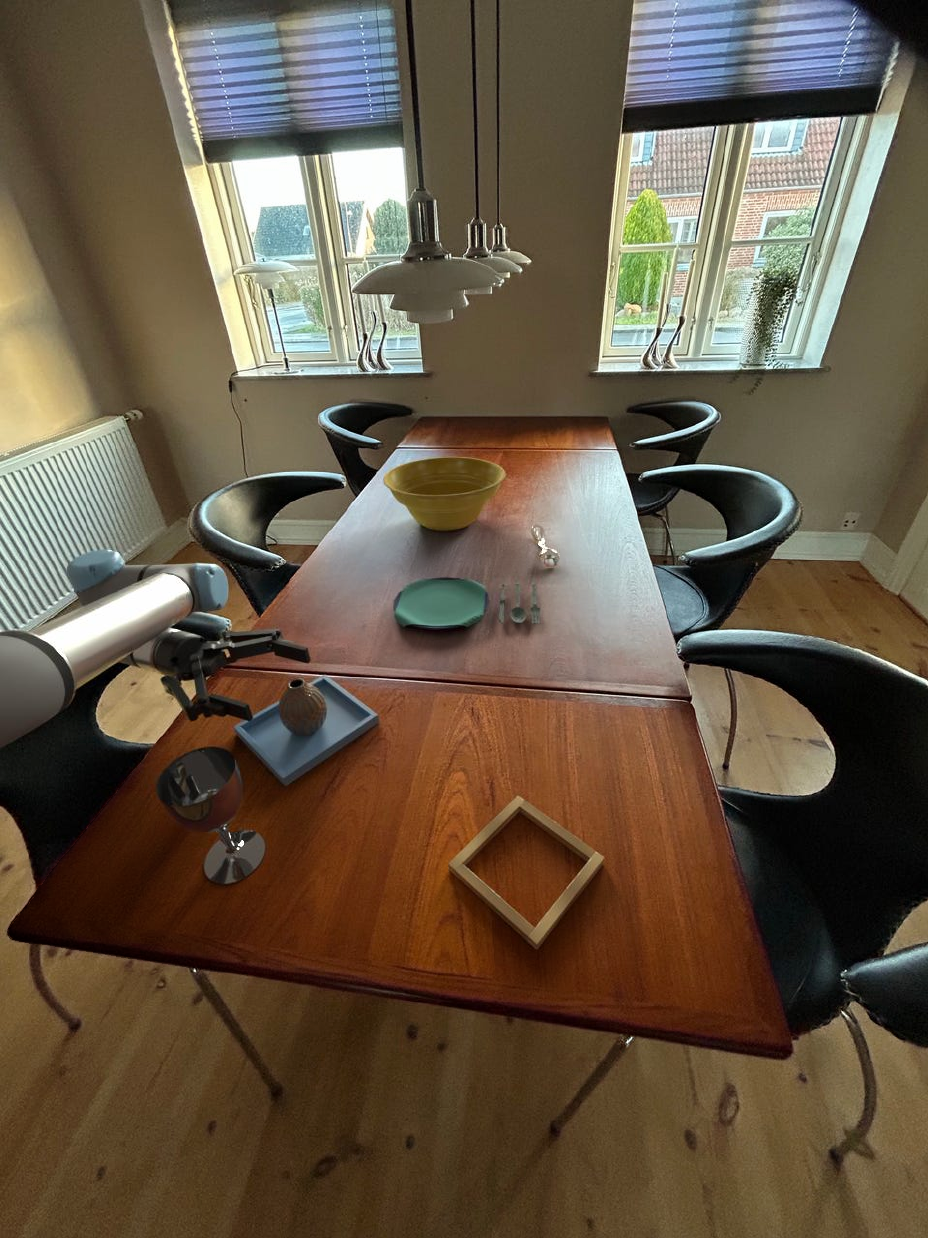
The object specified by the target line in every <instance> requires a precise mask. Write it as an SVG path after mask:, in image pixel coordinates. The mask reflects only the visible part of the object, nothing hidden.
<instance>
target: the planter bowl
mask: <svg viewBox="0 0 928 1238" xmlns="http://www.w3.org/2000/svg"><path fill="white" fill-rule="evenodd" d="M505 478H506V470H505V469H504V468H503V467H502V466H500V465H499V464H496V463H495V462H491V461H489V460H486V459H485V460H484V459H480V458H475V457H464V456H440V457H430V458H424V459H423V458H422V459H417V460H413V461H409V462H406V463H403V464H399V465H398V466H395V467H393V468H391V469H390V470H388V471H387V472H386V473H385V474H384V475H383V478H382V482H383V485H385V487H387V489H389V490H390V492H391V494H392V496H393V497H394V499H395V500H396V501H397V502H398V503H400V504H402V505H403V506H405V507H406V509H407V511H408V512H409V513H410V515H411V516H412V517H413V519H414V520H415V522H416V523H418V524H419V525H421V526H423V527H424V528H426V529H428V530H433V531H439V532H449V531H450V532H451V531H456V530H460V529H464V528H466V527H468V526H469V525H471V524H473V523H474V522H476V520H477V519H478V518H479V516H480V515H481V513H482V512H483V510H484V508H485V505H486V504H487V502H488V501H489V500H491V499H492V498H493V497H495V495H496V494H497V492H498V489H499V488H500V485H501V483H502V482H503V481H504V480H505Z"/></svg>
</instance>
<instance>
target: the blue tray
mask: <svg viewBox="0 0 928 1238" xmlns="http://www.w3.org/2000/svg"><path fill="white" fill-rule="evenodd" d="M308 684H311V685H313V686H315V687H316V688H317V689H318V690H319V691H320V692H321V693H322V695H323V696H324V698H325V701H326V705H327V715H326V719H325V722H324V724H323V725H322V727H321V728H320V729H319V730H317V731H316V732H314V733H313V734H310V735H296V734H294V733H291V732H290V731H289V730H288V729H287V728H286V727H285V726H284V725H283V723H282V721H281V718H280V715H279V702H280V699H279V700H278V701H276V702H274V703H273V704H271V705H268V706H266V707H265V708H264V709H262V710H260V711H258V712H257V713H255V714H252V716H253V719H252V720H251V721H250V722H249V721H246V720H242V721H240V722H239V723H237V724H236V725H234V726H233V727H232V728H233V730H234V733H235V735H236V736H237V737H238V738H239V739H240V740H241V742H242V743H243V744H245V745H246V747H247V748H248V749H249V750H250V751H251V752H252V753H253V754H254V755H255V756H256V757H257V758H258V759H259V760H260V762H262V764H263V765H264V766H265V767H266V768H267V769H268V770H269V771H270V772H271V773H272V774H273V775H274V776H275V777H276V778H277V779H278V780H279V781H280V782H281V784H282V785H283V786H284V787H287V786H289V785H290V784H292V783H293V782H294V781H296V780H297V779H299V778H300V777H302V776H303V775H304V774H306V773H307V772H309V771H310V770H313V768H315V767H316V766H318V765H319V764H321V763H322V762H324V761H325V760H326V759H328V758H330V757H331V756H332V755H335V753H337V752H338V751H340V750H341V749H343V748H344V747H345V746H347V745H349V744H350V743H351V742H353V741H354V740H356V739H357V738H359V737H360V736H362V735H363V734H365V733H366V732H368V731H370V730H371V729H372V728H373V727H375V726H377V725H378V724H379V723H380V718H379V714H378V713H376V711H374V710H372V709H371V708H370V707H368V706H367V705H366V704H365V703H363V702H362V701H361V700H359V699H358V698H357V697H356V696H354V695H353V694H351V693H350V692H349V691H347V690H346V689H345V688H343V687H342V686H341V685H340V684H338V683H337V682H335V681H334V680H333V679H332V678H330V677H329V676H327V675H326V674H323V675H321V676H319V677H318V678H316V679H314V680H313V681H311V682H309V683H308Z"/></svg>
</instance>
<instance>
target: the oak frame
mask: <svg viewBox="0 0 928 1238" xmlns="http://www.w3.org/2000/svg"><path fill="white" fill-rule="evenodd" d="M519 813H520V814H521V815H523V816H524V817H525V818H526V819H528V820H530V821H531V822H532V823H533V824H535V825H536V826H537V827H539V828H540V829H541V830H543V831H544V832H546V833H547V834H548V835H549V836H551V837H552V838H553V839H554V840H556V841H558V842H559V843H560V844H562V845H563V846H564V847H566V848H567V849H569V850H570V851H571V852H572V853H574V854H575V855H576V856H578V857H579V858H581V859H582V860H584V861H585V862H586V864H585V865H584V866H583V867H582V868H581V869H580V871H579V872H578V873H577V874H576V876H575V877H574V878H573V880H572V881H570V883H569V885H567V887H566V889H564V891H563V892H562V893H561V895H560V896H559V897H558V899H556V901H555V902H554V904H553V905H552V906H551V907H550V909H548V911H547V912H546V913H545V914H544V916H543V917H542V918H541V919H540V921H539V922H538V924H537V925H536V926H533V925H532V924H531V923H530V922H529V921H528V920H527V919H525V918H524V917H523V916H522V915H521V914H520V913H519V912H518V911H517V910H515V909H514V908H513V907H512V906H511V905H509V903H507V902H506V901H505V900H504V899H503V897H502V898H501V896H500V895H498V893H496V892H495V891H494V890H493V889H492V888H491V887H489V886H488V885H487V884H486V883H485V882H484V881H483V880H482V879H480V878H479V876H477V875H476V874H475V873H474V872H472V871H471V870H470V869H469V868H468V867H467V866H468V864H469V863H470V862H471V861H472V860H473V859H474V858H475V857H476V856H477V855H478V854H479V853H480V852H481V851H482V850H483V849H484V848H485V847H486V846H487V845H488V844H489V843H490V842H491V841H492V840H493V839H494V838H495V837H496V836H497V835H498V834H499V833H500V832H501V831H502V830H503V829H504V828H505V827H506V826H507V825H508V824H509V823H510V822H511V820H513V819H514V818H515V817H516V816H517V815H518V814H519ZM604 863H605V856H603V855H602V854H600V853H599V852H597V851H596V850H595V849H593V848H592V847H590V846H589V845H587V844H586V843H585V842H583V841H582V840H581V839H579V838H578V837H576V835H574V834H572V833H571V832H570V831H568V830H567V829H566V828H564V827H563V826H561V825H560V824H559V823H558V822H556V821H554V820H553V819H551V817H549V816H547V815H546V814H545V813H543V812H541V810H539V809H537V808H536V807H535V806H534V805H532V804H531V803H529V802H528V801H527V800H525V799H524V798H522V797H521V796H520V795H517V796H516V797H515V798H514V799H512V801H511V802H510V803H509V804H508V805H506V806H505V808H503V810H501V812H499V814H498V815H496V816H495V817H494V819H492V820H491V821H490V822H489V823H488V824H487V825H486V826H485V827H484V828H483V829H482V830H481V831H480V832H479V833H478V834H477V835H476V836H475V837H474V838H473V839H472V840H471V841H470V842H469V843H468V844H467V845H466V846H465V847H464V848H463V849H462V850H460V852H458V854H457V855H455V857H454V858H452V859H451V861H450V862H448V863H447V869H448V871H449V872H450V873H452V874H453V875H454V876H455V877H456V878H457V879H458V880H459V881H460V882H461V883H463V884H464V885H465V886H466V887H467V888H468V889H469V890H470V891H471V892H472V893H473V894H475V895H476V896H477V897H478V898H479V899H480V900H481V901H482V902H483V903H484V904H486V905H487V906H488V907H489V908H490V909H491V910H492V911H493V912H494V913H495V914H496V915H497V916H498V917H499V918H501V920H503V921H504V922H505V923H506V924H508V926H510V927H511V928H512V929H513V930H514V932H516V933H517V934H518V935H519V936H520V937H522V938H523V939H524V940H525V941H526V942H527V943H528V944H529V945H530V946H531V947H532V948H534V949H535V950H538V949H539V948H540V947H541V945H542V944H543V943H544V942H545V940H546V939H547V937H548V936H549V935H550V934H551V932H552V931H553V930H554V929H555V928H556V926H557V925H558V924H559V922H560V921H561V920H562V918H563V917H564V916H565V914H566V913H567V912H568V910H569V909H570V908H571V907H572V905H573V904H574V903H575V901H576V900H577V899H578V897H579V896H580V895H581V894H582V892H583V891H584V890H585V888H586V887H587V886H588V885H589V884H590V882H591V881H592V879H593V878H594V877H595V876H596V874H597V873H598V872H599V870H600V869H601V868H602V867H603V865H604Z"/></svg>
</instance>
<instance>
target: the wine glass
mask: <svg viewBox="0 0 928 1238" xmlns="http://www.w3.org/2000/svg"><path fill="white" fill-rule="evenodd" d="M241 774H242V773H241V772H240V768H239V766H238V763H237V760H236V759H235V757H234V755H233V753H232V752H231V751H230V750H228V749H226V748H224V747H220V746H204V747H200V748H196V749H193V750H190V751H187V752H186V753H183V754H181V755H180V756H178V757H177V758H175V759H174V760H173V761H171V762H170V763H169V764H168V765H167V766H165V768H164V769H163V770H162V772H161V774H160V775H159V777H158V779H157V781H156V785H155V793H156V796H157V798H158V800H159V802H160V804H161V805H162V807H163V808H164V810H165V811H166V813H167V814H168V816H169V817H170V818H171V819H172V820H173V821H174V822H175V823H176V824H178V825H179V826H180V827H181V828H182V829H184V830H186V831H188V832H190V833H195V834H209V833H213V832H214V833H216V834H217V835H218V836H219V837H220V839H219V840H218V841H216V842H215V843H214V844H213V845H212V846H211V848H210V849H209V851H208V852H207V854H206V856H205V859H204V863H203V869H204V870H203V871H204V874H205V876H206V877H207V879H208V880H210V881H211V882H212V883H215V884H218V885H230V884H234V883H237V882H240V881H242V880H243V879H245V878H247V877H249V876H250V875H251V874H252V873H253V872H254V871H255V870H256V869H257V868H258V867H260V866H259V865H260V864H261V863H262V861H263V859H264V857H265V853H266V843H265V839H264V837H262V835H261V834H260V833H258V832H256V831H254V830H250V829H241V830H236V831H233V832H231V833H230V829H229V825H230V823H231V822H232V820H234V818H235V817H236V816H237V814H238V813H239V811H240V809H241V807H242V804H243V798H244V786H243V780H242V775H241Z"/></svg>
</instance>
